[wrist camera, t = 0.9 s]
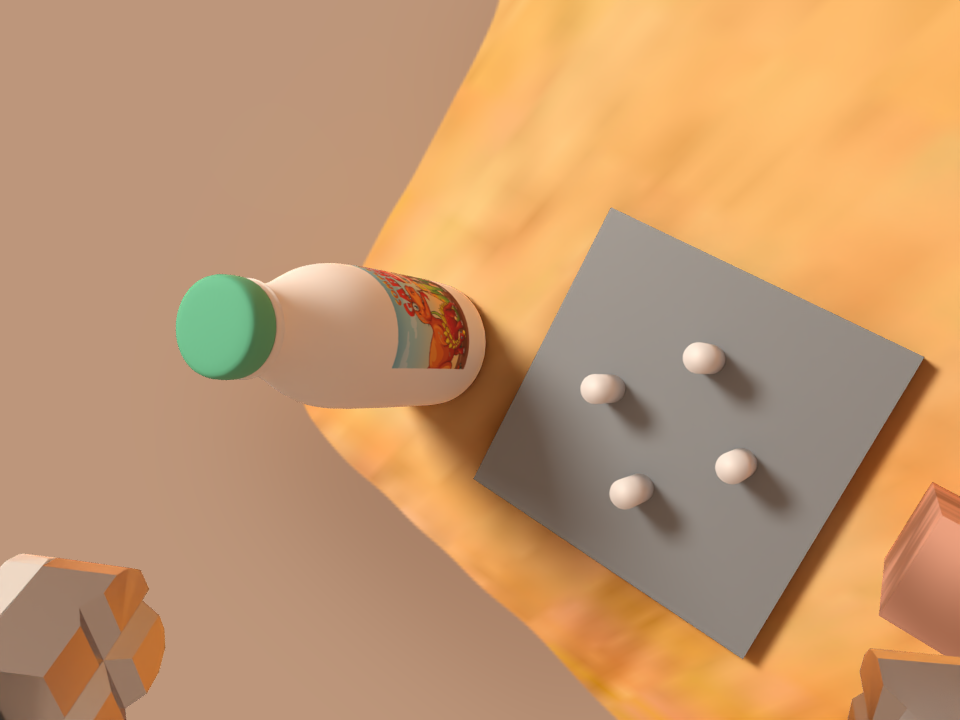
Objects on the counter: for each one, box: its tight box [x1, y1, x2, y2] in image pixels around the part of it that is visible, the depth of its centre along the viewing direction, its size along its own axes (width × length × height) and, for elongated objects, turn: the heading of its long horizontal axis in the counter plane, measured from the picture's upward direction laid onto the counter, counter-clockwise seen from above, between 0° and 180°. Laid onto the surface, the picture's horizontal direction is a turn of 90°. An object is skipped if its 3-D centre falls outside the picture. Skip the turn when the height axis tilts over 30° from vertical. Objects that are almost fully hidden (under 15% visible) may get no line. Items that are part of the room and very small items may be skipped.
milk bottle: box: [176, 263, 486, 409], centre depth 47 cm, size 8×8×20 cm
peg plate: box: [474, 208, 924, 659], centre depth 47 cm, size 18×18×4 cm
